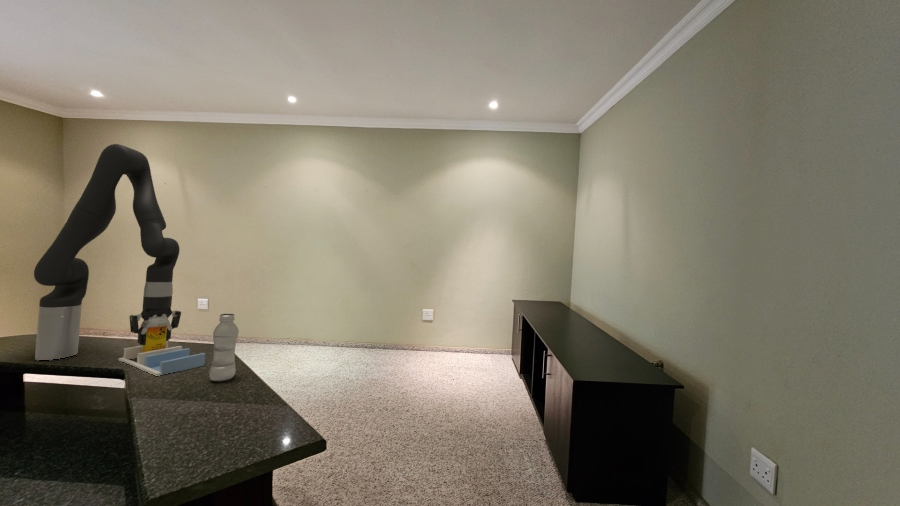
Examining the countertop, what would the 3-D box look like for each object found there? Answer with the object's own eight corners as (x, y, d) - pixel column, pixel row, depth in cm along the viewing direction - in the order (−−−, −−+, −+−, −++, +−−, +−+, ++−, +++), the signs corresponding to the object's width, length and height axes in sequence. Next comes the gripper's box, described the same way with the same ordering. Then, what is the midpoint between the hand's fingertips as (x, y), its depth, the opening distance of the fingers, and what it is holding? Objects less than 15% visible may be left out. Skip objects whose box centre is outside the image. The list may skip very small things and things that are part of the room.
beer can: (153, 362, 112) (157, 317, 112) (136, 360, 112) (139, 316, 112) (169, 356, 118) (172, 314, 118) (152, 355, 118) (155, 313, 118)
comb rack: (118, 361, 110) (119, 349, 111) (165, 352, 122) (166, 341, 122) (156, 376, 100) (157, 363, 100) (204, 365, 112) (205, 353, 112)
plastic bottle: (204, 380, 100) (209, 314, 100) (227, 374, 106) (232, 311, 106) (215, 385, 97) (221, 317, 97) (239, 379, 103) (244, 314, 103)
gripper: (176, 292, 123) (172, 337, 123) (125, 294, 110) (121, 345, 110) (187, 294, 120) (184, 340, 120) (137, 297, 107) (132, 349, 107)
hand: (154, 342), depth 115 cm, fingers closed on beer can, 6 cm apart
